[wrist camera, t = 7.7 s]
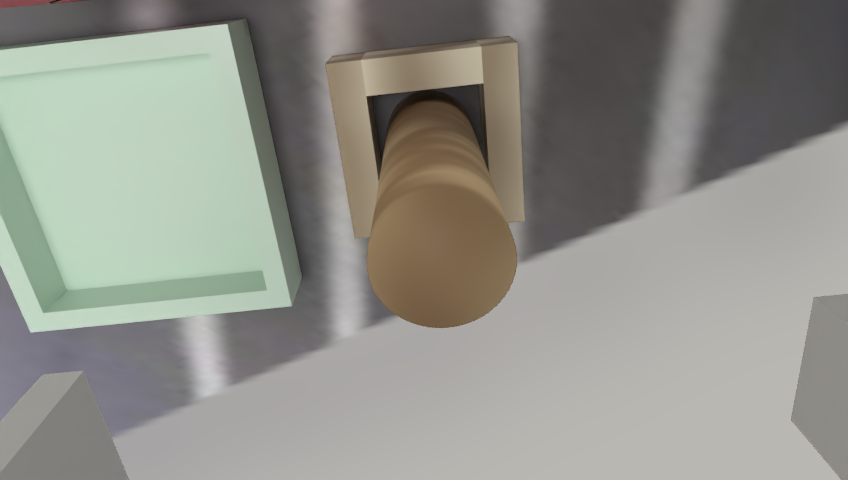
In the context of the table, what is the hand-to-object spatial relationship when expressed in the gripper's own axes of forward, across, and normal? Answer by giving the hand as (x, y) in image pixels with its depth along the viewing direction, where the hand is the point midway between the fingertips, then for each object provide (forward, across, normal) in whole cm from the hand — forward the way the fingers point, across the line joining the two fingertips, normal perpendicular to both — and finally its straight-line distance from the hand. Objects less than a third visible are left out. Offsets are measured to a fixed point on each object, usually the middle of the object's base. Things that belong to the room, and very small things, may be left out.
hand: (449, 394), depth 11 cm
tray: (+19, +14, 0) cm, 24 cm away
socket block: (+19, 0, 0) cm, 19 cm away
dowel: (+19, 0, 0) cm, 19 cm away
